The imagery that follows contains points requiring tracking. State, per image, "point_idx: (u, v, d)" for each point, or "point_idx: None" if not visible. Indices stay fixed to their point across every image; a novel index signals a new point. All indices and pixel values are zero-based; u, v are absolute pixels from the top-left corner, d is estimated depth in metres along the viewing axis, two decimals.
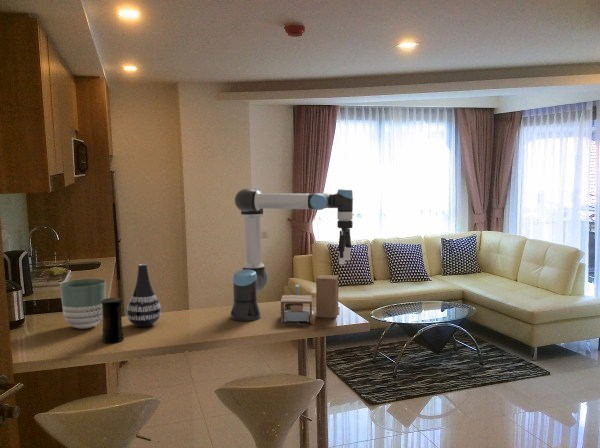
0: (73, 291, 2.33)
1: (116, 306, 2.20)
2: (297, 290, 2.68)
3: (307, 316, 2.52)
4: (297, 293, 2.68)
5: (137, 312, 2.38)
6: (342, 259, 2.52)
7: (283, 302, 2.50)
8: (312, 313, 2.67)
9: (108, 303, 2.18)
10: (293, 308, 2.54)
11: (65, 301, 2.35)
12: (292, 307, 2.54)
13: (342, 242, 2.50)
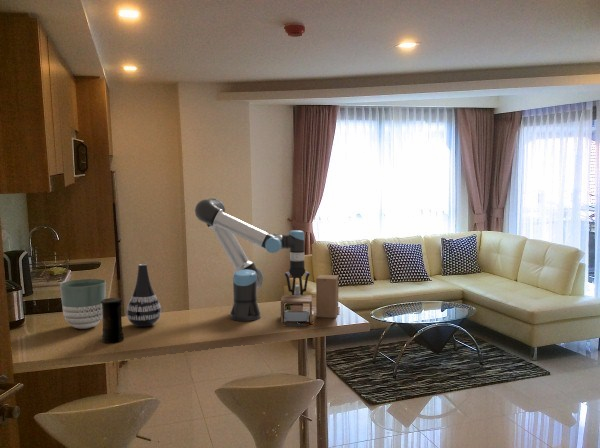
0: (73, 291, 2.33)
1: (116, 306, 2.20)
2: (297, 290, 2.68)
3: (307, 316, 2.52)
4: (297, 293, 2.68)
5: (137, 312, 2.38)
6: None
7: (283, 302, 2.50)
8: (312, 313, 2.67)
9: (108, 303, 2.18)
10: (293, 308, 2.54)
11: (65, 301, 2.35)
12: (292, 307, 2.54)
13: None
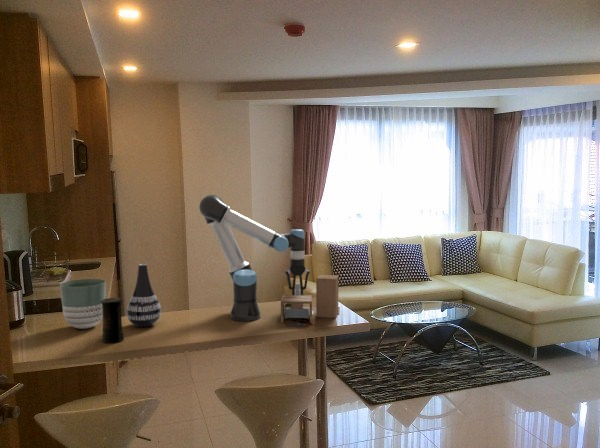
0: (73, 291, 2.33)
1: (116, 306, 2.20)
2: (297, 288, 2.74)
3: (307, 313, 2.58)
4: (297, 291, 2.74)
5: (137, 312, 2.38)
6: None
7: (283, 302, 2.50)
8: (312, 313, 2.67)
9: (108, 303, 2.18)
10: (293, 306, 2.59)
11: (65, 301, 2.35)
12: (292, 305, 2.59)
13: (288, 281, 2.76)
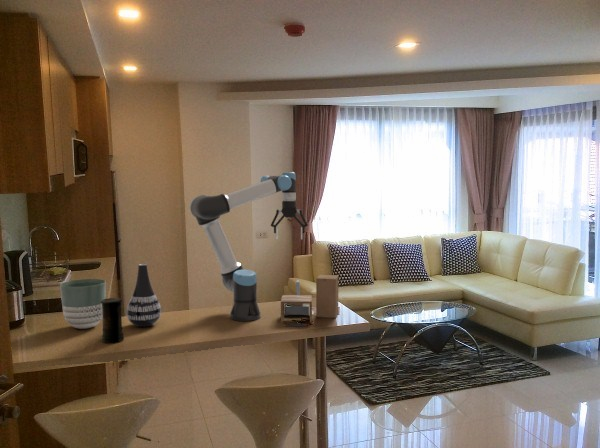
0: (73, 291, 2.33)
1: (116, 306, 2.20)
2: (298, 285, 2.80)
3: (307, 310, 2.64)
4: (298, 288, 2.80)
5: (137, 312, 2.38)
6: (276, 234, 2.83)
7: (283, 302, 2.50)
8: (312, 313, 2.67)
9: (108, 303, 2.18)
10: None
11: (65, 301, 2.35)
12: None
13: (273, 219, 2.82)
